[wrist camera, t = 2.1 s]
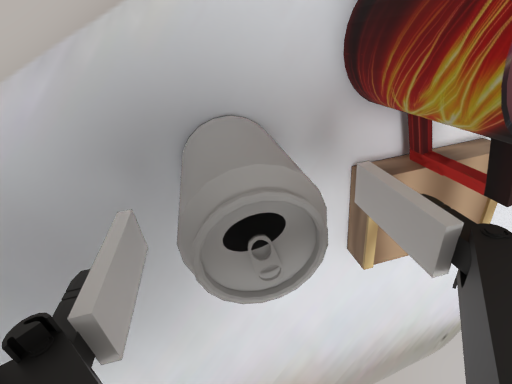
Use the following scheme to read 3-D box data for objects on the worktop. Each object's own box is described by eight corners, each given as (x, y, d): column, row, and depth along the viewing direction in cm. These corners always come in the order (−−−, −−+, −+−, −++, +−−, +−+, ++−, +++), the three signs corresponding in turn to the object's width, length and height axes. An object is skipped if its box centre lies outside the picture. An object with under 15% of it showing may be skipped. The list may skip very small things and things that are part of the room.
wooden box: (347, 248, 30) (363, 269, 27) (351, 166, 25) (372, 181, 22) (458, 220, 32) (484, 237, 29) (482, 138, 27) (517, 149, 24)
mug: (402, 157, 26) (545, 231, 15) (318, 39, 19) (466, 29, 9) (490, 78, 24) (720, 102, 14) (428, -82, 17) (777, -269, 7)
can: (259, 98, 20) (331, 152, 10) (282, 181, 24) (352, 282, 14) (164, 133, 20) (139, 224, 10) (203, 211, 24) (214, 337, 14)
